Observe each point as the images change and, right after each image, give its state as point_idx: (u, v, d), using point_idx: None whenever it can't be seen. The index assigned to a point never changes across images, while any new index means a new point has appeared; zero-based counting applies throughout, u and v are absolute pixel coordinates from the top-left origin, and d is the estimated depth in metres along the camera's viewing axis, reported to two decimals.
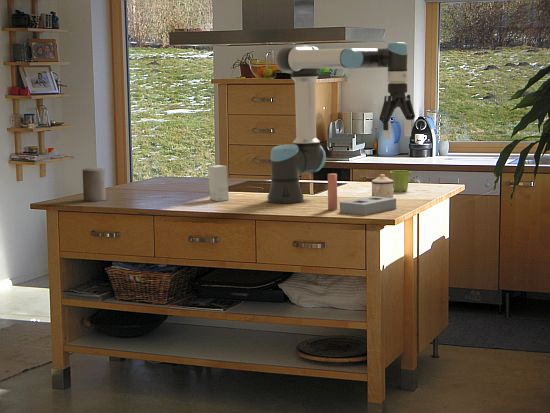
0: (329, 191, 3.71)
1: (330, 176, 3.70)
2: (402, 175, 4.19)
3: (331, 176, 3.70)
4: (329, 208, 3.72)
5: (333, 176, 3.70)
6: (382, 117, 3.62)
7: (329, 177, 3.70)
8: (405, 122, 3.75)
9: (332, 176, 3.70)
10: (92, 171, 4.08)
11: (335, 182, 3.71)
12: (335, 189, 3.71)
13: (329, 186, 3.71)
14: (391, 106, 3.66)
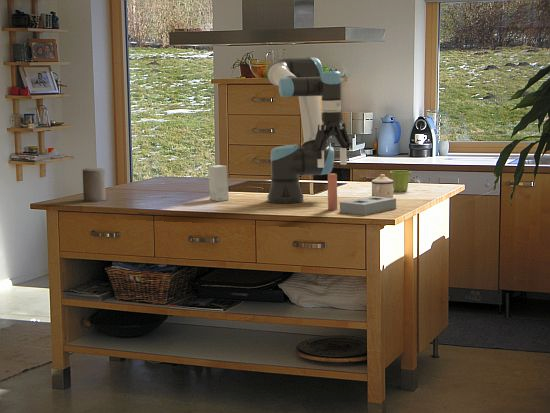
0: (329, 191, 3.71)
1: (330, 176, 3.70)
2: (402, 175, 4.19)
3: (331, 176, 3.70)
4: (329, 208, 3.72)
5: (333, 176, 3.70)
6: (315, 146, 3.62)
7: (329, 177, 3.70)
8: (341, 151, 3.75)
9: (332, 176, 3.70)
10: (92, 171, 4.08)
11: (335, 182, 3.71)
12: (335, 189, 3.71)
13: (329, 186, 3.71)
14: (325, 135, 3.66)
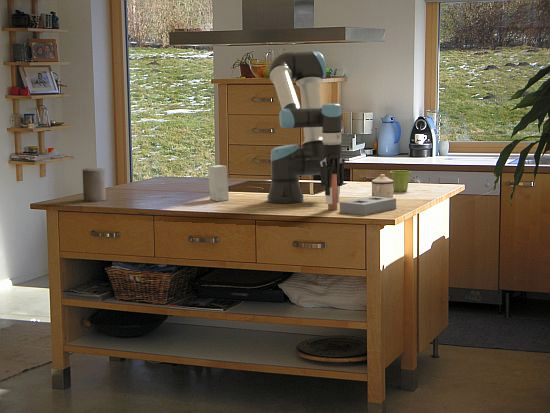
0: None
1: None
2: (402, 175, 4.19)
3: None
4: (329, 208, 3.72)
5: (333, 176, 3.70)
6: (323, 184, 3.68)
7: None
8: None
9: (332, 176, 3.70)
10: (92, 171, 4.08)
11: (335, 182, 3.71)
12: (335, 189, 3.71)
13: None
14: (328, 169, 3.69)
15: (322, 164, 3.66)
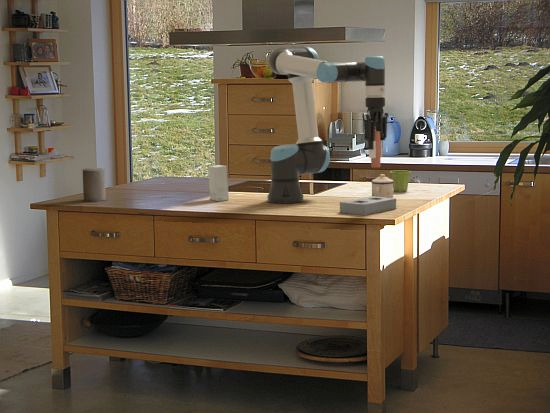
0: None
1: None
2: (402, 175, 4.19)
3: None
4: (372, 166, 3.69)
5: (376, 133, 3.66)
6: (367, 137, 3.64)
7: None
8: None
9: (375, 133, 3.66)
10: (92, 171, 4.08)
11: (378, 139, 3.67)
12: (378, 147, 3.67)
13: None
14: (371, 123, 3.65)
15: (366, 117, 3.62)
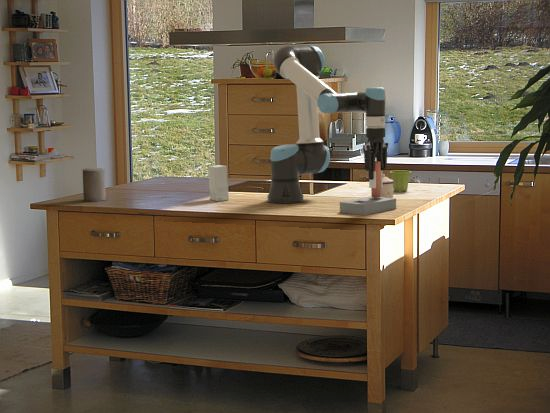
0: None
1: None
2: (402, 175, 4.19)
3: (375, 163, 3.68)
4: (373, 196, 3.71)
5: (377, 163, 3.68)
6: (367, 167, 3.66)
7: None
8: None
9: (376, 163, 3.68)
10: (92, 171, 4.08)
11: (379, 169, 3.69)
12: (378, 177, 3.69)
13: None
14: (372, 153, 3.67)
15: (366, 148, 3.64)
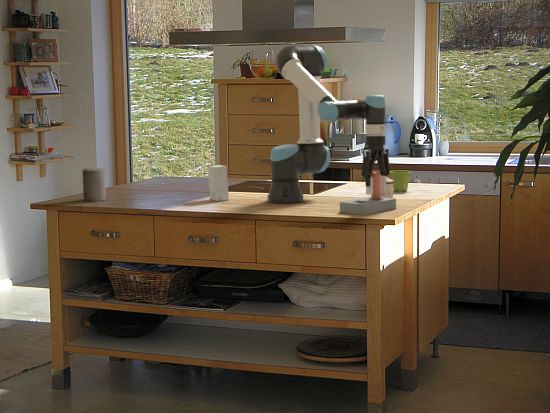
0: None
1: (373, 175, 3.69)
2: (402, 175, 4.19)
3: (374, 175, 3.69)
4: None
5: (376, 175, 3.69)
6: (364, 174, 3.65)
7: (372, 176, 3.69)
8: (380, 178, 3.74)
9: (375, 175, 3.69)
10: (92, 171, 4.08)
11: (378, 181, 3.70)
12: (378, 188, 3.70)
13: None
14: (371, 160, 3.67)
15: (366, 154, 3.64)
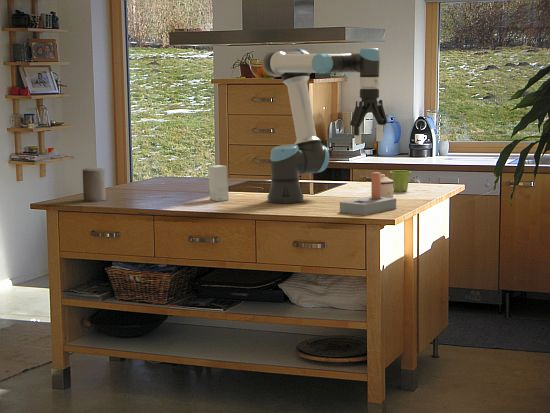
0: (373, 190, 3.70)
1: (374, 175, 3.69)
2: (402, 175, 4.19)
3: (375, 175, 3.69)
4: None
5: (377, 175, 3.69)
6: (353, 122, 3.65)
7: (373, 176, 3.69)
8: (377, 127, 3.77)
9: (376, 175, 3.69)
10: (92, 171, 4.08)
11: (379, 181, 3.70)
12: (378, 188, 3.70)
13: (373, 184, 3.70)
14: (362, 111, 3.68)
15: (359, 103, 3.65)
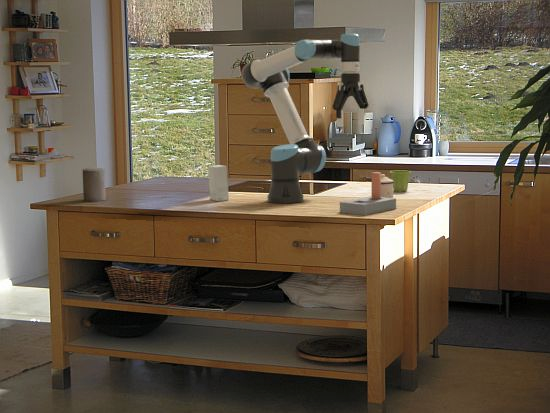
0: (373, 190, 3.70)
1: (374, 175, 3.69)
2: (402, 175, 4.19)
3: (375, 175, 3.69)
4: None
5: (377, 175, 3.69)
6: (335, 106, 3.77)
7: (373, 176, 3.69)
8: (359, 111, 3.89)
9: (376, 175, 3.69)
10: (92, 171, 4.08)
11: (379, 181, 3.70)
12: (378, 188, 3.70)
13: (373, 184, 3.70)
14: (344, 95, 3.80)
15: (340, 87, 3.78)
